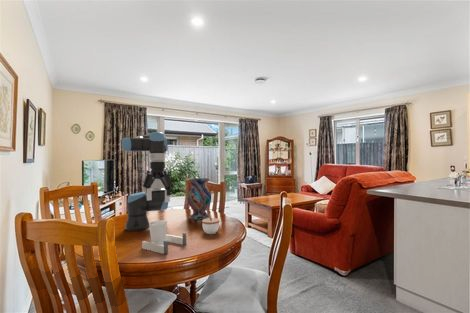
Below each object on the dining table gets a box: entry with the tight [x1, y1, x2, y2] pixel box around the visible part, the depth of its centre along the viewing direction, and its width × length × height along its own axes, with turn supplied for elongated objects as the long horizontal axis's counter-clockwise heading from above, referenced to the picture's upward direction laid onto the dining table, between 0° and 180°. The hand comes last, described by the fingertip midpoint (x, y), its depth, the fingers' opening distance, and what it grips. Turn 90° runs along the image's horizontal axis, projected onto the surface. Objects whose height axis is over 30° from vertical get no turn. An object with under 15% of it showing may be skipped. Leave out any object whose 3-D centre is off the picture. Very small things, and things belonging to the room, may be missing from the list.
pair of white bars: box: [141, 232, 187, 255], centre depth 126 cm, size 17×16×6 cm
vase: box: [187, 177, 212, 221], centre depth 187 cm, size 18×18×30 cm
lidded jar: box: [201, 216, 220, 235], centre depth 148 cm, size 11×11×9 cm
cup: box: [149, 220, 168, 245], centre depth 128 cm, size 9×9×12 cm
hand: (158, 201), depth 128 cm, fingers open, 13 cm apart
